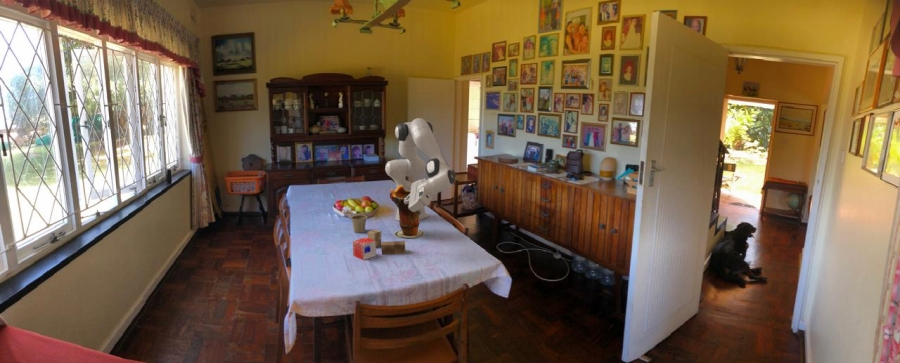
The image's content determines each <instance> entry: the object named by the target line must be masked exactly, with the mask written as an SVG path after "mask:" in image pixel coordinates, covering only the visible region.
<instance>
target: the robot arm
mask: <svg viewBox="0 0 900 363" xmlns="http://www.w3.org/2000/svg"><path fill="white" fill-rule="evenodd" d="M394 135H395V137H396V139H397V140H398V153H399V155H400V157H402V159H401V158H400V159H392V160H389V161H387V162H386V163H385V168H384V170H385V173H386V174H387V176H389V177H390V178H391V179H392V180H393V181H394V182H395V183H394V184H395V185H396V188H397V187H398V186H400V185H403V187H404V189H405V190H407V191H411V192H410V194H409V195H408V196H407V197H406V198H404V204H407V203H409V207H408V208H409V209H410V210H411V211H412V212H416V211H418V210H419V221H421V220H424V219H425V218H426V219H427V218H428V217H429V214H428V213H426V209H425V207H427V206H429V205H430V203H431V201H432V199H433V198H434V197H435V196H436V195H437V194H439V193H441V192H444V191H446V190H447V189H449V188H450V187H452V186H453V185H454V184H455V182H456V171H455V170H454V169H453V168H452V167H450V166H449V164H448V163H447V160H446V159H445V156H444V155H443V153H442V151H441V149H440V147H439V144H438V142H437V141H436V138H435V136H434V129H433V124H431V122H430V121H426V120H425V119H424V118H421V117H417V118H415V119H413V120H412V121H409V122H408V121H407V122H400V123H398V124H397V125H396V126H395V130H394ZM418 149H419V150H420V151H421V152H423V153H424V154H425V155H426V156H428V158H429V160H428V161H427V162H425V161H424V160H423V159H421V158H420V156H419V155H418ZM425 173H426V176H427V177H428V179H427V178H422V179H418V180H415V181H413V182H411V181H408V180H406V177H417V176H421V175H424V174H425ZM396 207H397V206H396ZM394 218H395V219H394V220H396V221H398V222H400V218H399V209H398V207H397V208H396V215H395V217H394Z"/></svg>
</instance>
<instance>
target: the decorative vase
mask: <svg viewBox="0 0 900 363" xmlns="http://www.w3.org/2000/svg"><path fill="white" fill-rule="evenodd" d="M410 192H411V191H407V190H405V189H404V187H403V185H400V186H398V187H397V186H396V188H395V190H394V188H391V189H390V192H389V199H391V201H392V202H393V203H394V204H395V205H396V207H398V209H399V218H400V221H399V223H398V224H399V226H400V227H399V228H400V229H399V230H396V231H395V232H393V236H394V237H396V238H399V239H403V238H405V239H417V238H421V237H423V236H424V235H425V234H426V232H425V231H423V230H422V229H419V228H420V220H419V210H418V211H416V212H412V211H411V210H410V209H409V208H408V207H409V203H407V204H404V198H406V197H407V196H408V195H409V194H410Z"/></svg>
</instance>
